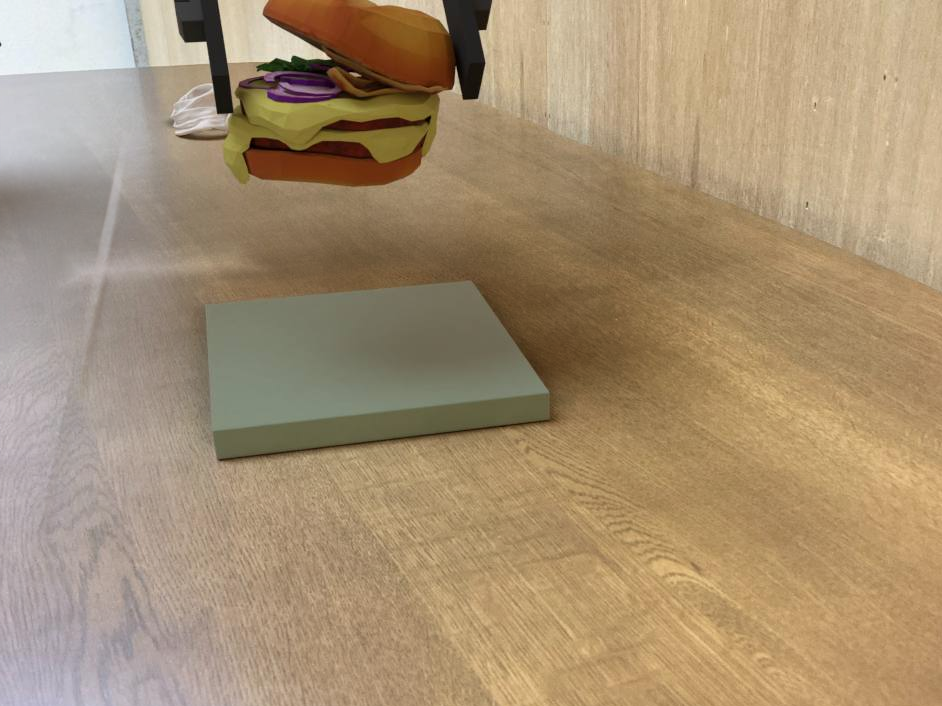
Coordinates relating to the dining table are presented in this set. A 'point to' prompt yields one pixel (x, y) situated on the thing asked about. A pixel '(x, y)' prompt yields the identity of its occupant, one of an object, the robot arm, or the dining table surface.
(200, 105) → the whipped cream
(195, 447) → the dining table surface
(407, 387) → the serving slab
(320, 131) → the cheeseburger
